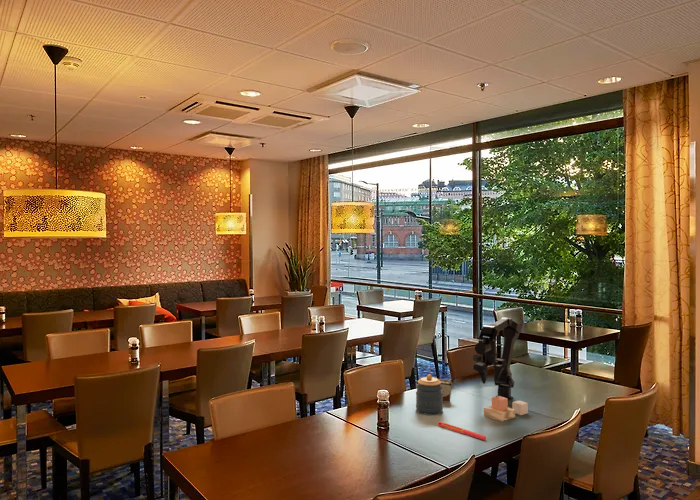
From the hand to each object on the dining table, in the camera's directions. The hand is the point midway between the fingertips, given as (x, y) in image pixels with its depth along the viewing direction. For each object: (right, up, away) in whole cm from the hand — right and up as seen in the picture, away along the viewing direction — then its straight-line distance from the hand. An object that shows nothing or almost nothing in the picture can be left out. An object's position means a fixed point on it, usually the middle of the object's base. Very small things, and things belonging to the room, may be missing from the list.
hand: (490, 381), depth 260 cm
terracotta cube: (0, -9, -16) cm, 18 cm away
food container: (-23, -12, +10) cm, 28 cm away
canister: (-32, -12, -7) cm, 35 cm away
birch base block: (0, -13, -16) cm, 20 cm away
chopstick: (-22, -13, -35) cm, 44 cm away
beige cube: (+11, -12, -11) cm, 20 cm away
